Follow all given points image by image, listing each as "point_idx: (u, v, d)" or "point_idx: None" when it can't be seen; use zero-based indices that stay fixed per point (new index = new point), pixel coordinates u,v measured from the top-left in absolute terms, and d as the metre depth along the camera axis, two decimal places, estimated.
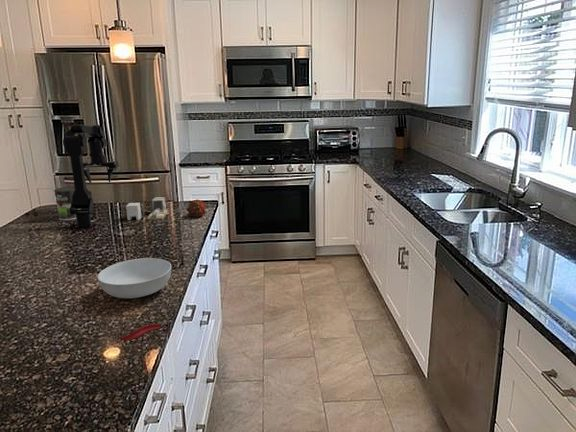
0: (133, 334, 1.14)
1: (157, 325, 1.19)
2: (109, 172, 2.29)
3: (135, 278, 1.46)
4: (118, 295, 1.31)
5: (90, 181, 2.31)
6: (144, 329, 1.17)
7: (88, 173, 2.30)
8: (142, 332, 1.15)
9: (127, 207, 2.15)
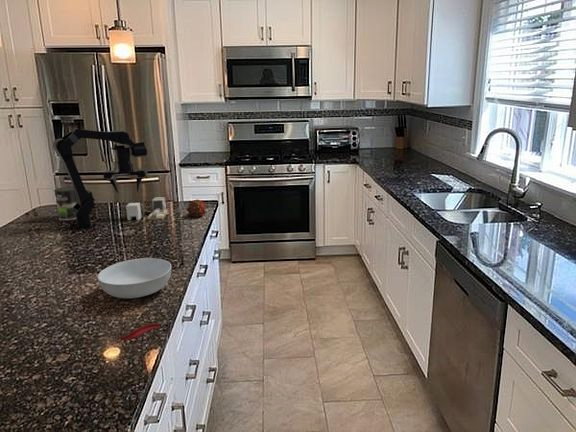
0: (133, 334, 1.14)
1: (156, 324, 1.19)
2: (138, 181, 2.15)
3: (135, 278, 1.46)
4: (118, 295, 1.31)
5: (117, 191, 2.17)
6: (144, 329, 1.17)
7: (115, 182, 2.16)
8: (142, 332, 1.16)
9: (127, 207, 2.15)
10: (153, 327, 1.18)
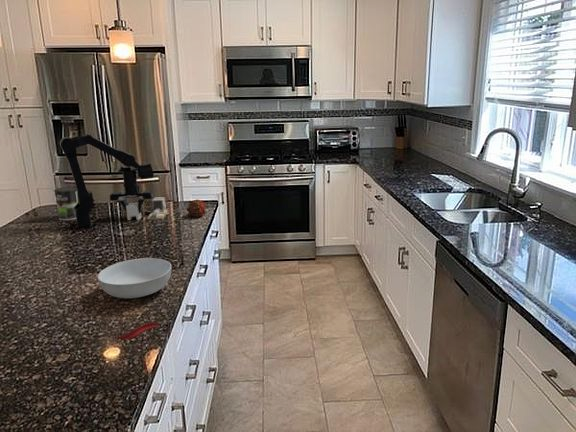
0: (132, 333, 1.15)
1: (155, 323, 1.19)
2: (140, 203, 2.16)
3: (135, 278, 1.46)
4: (118, 295, 1.31)
5: None
6: (143, 328, 1.17)
7: (126, 204, 2.17)
8: (141, 331, 1.16)
9: (127, 207, 2.15)
10: (152, 326, 1.19)
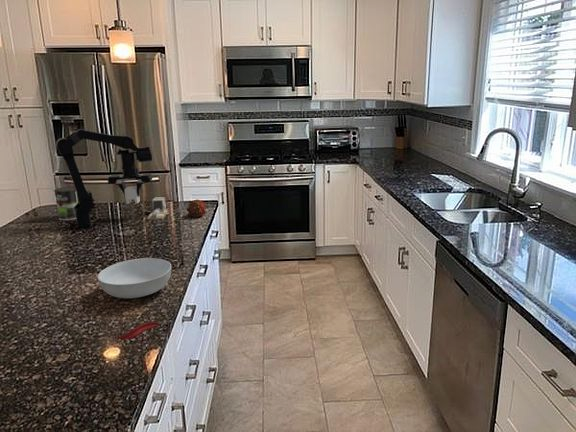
0: (132, 333, 1.15)
1: (154, 323, 1.20)
2: (138, 186, 2.13)
3: (135, 278, 1.46)
4: (118, 295, 1.31)
5: None
6: (142, 328, 1.17)
7: (124, 187, 2.15)
8: (140, 330, 1.16)
9: (125, 190, 2.13)
10: (151, 326, 1.19)
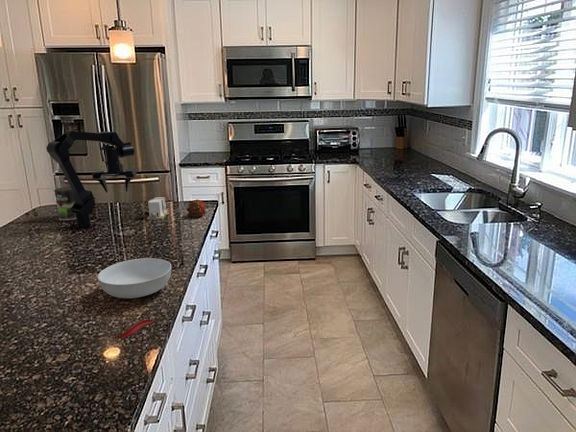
0: (130, 331, 1.16)
1: (149, 320, 1.21)
2: (127, 181, 2.17)
3: (135, 278, 1.46)
4: (118, 295, 1.31)
5: (106, 191, 2.20)
6: (138, 325, 1.19)
7: (104, 182, 2.19)
8: (137, 328, 1.18)
9: (149, 204, 2.16)
10: (147, 323, 1.20)
